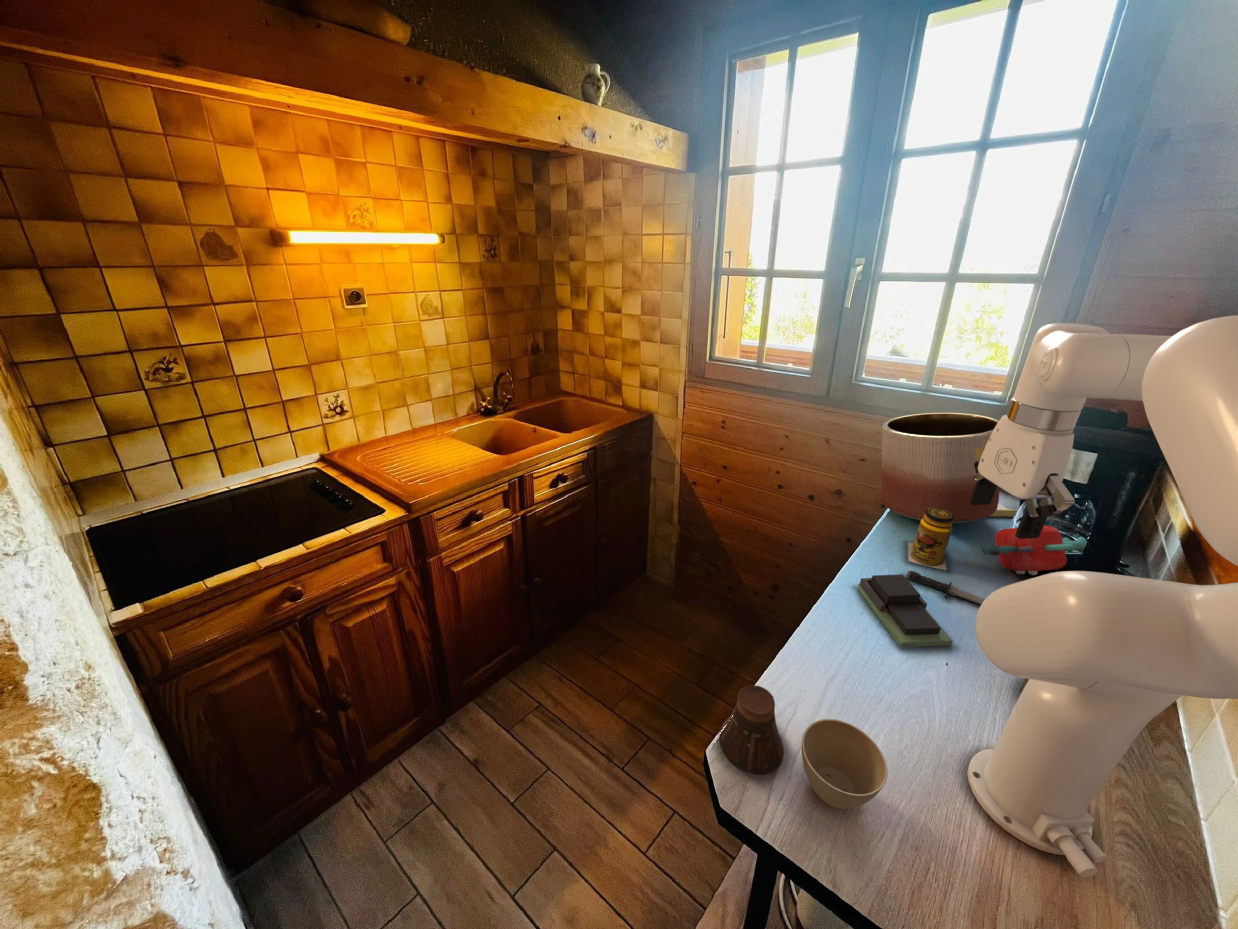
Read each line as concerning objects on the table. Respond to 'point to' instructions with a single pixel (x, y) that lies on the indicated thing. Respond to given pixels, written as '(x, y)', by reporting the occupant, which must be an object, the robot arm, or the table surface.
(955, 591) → the knife
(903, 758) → the table surface
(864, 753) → the beige bowl
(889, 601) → the loose pad
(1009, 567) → the toy
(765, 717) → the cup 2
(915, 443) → the planter
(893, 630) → the dock
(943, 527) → the condiment
